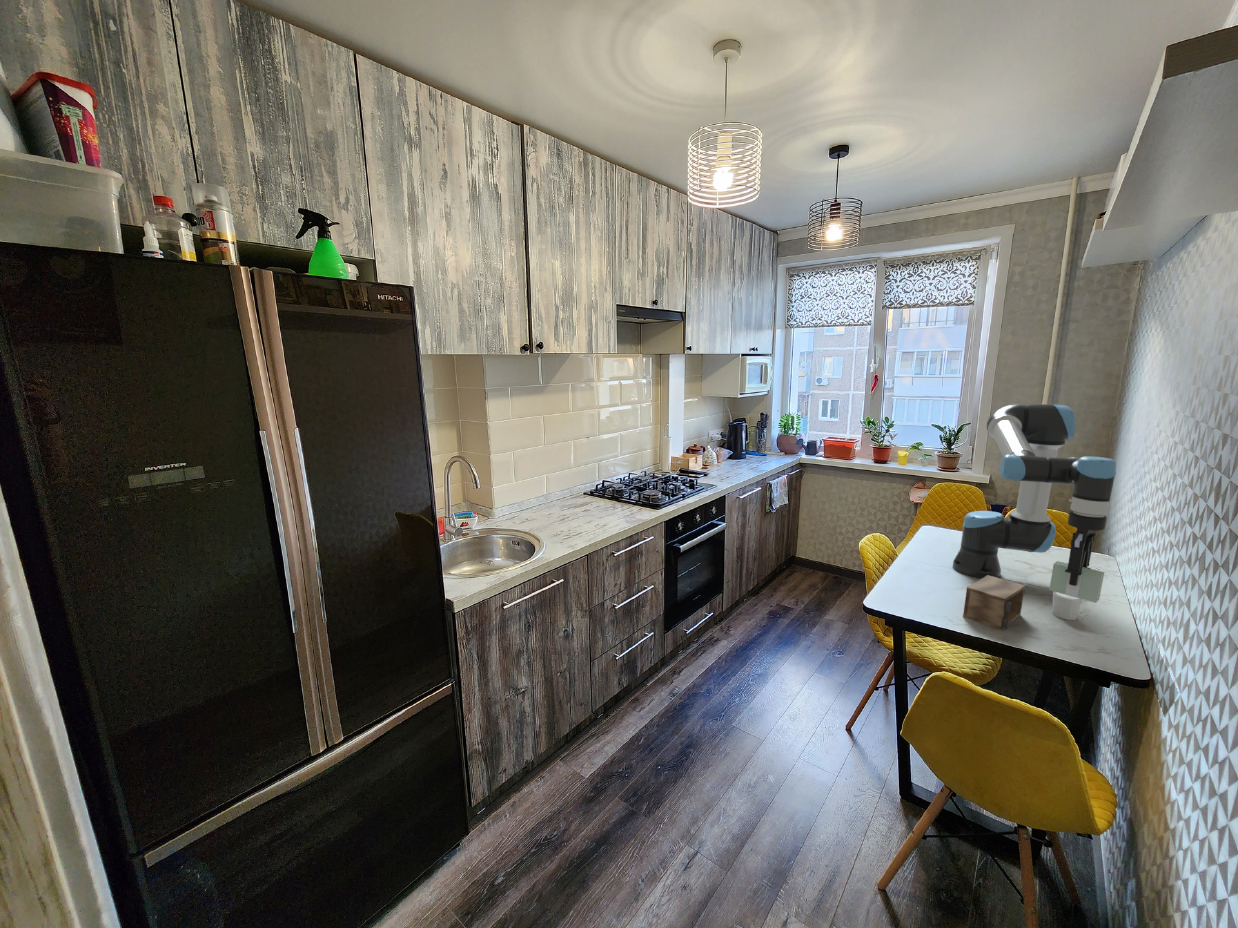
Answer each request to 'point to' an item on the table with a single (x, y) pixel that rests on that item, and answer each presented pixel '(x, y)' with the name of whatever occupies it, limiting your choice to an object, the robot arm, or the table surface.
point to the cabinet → (993, 601)
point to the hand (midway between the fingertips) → (1073, 593)
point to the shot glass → (1065, 606)
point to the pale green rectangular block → (1089, 581)
